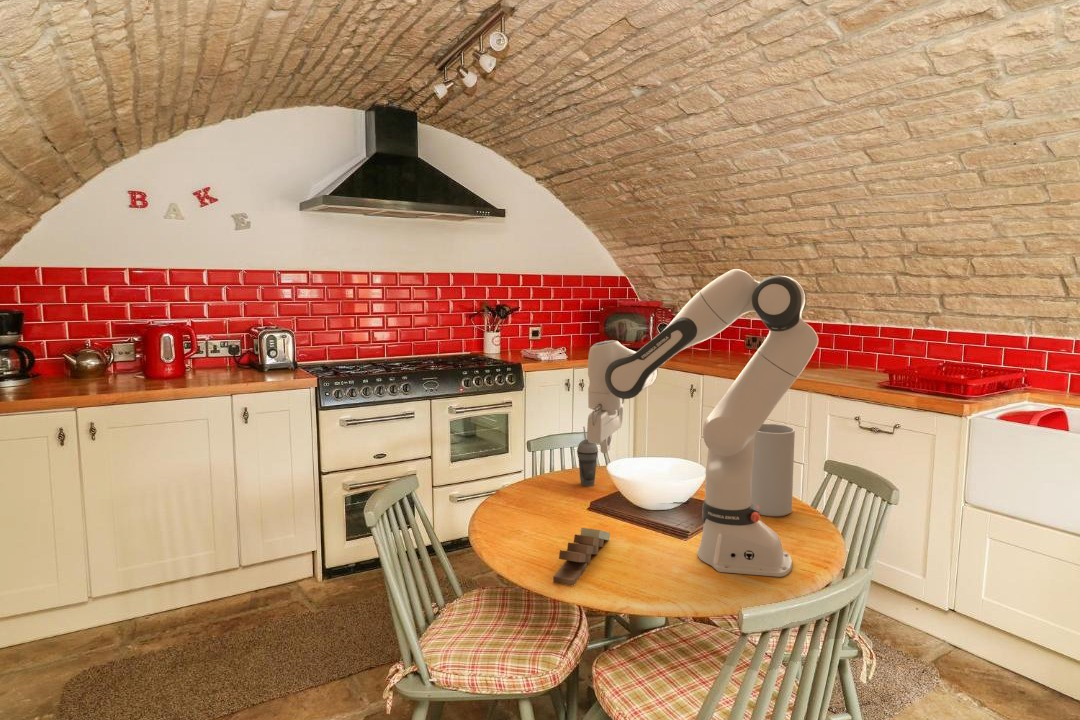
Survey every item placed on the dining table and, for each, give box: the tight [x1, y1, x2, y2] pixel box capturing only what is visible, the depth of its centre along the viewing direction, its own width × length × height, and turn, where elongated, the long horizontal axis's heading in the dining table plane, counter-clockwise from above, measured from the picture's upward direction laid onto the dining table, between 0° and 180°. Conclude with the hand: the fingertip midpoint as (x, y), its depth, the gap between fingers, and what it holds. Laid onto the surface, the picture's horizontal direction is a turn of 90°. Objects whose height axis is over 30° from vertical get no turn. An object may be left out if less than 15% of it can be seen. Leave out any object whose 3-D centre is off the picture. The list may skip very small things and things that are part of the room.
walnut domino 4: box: [566, 542, 600, 555], centre depth 166 cm, size 5×2×10 cm
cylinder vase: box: [751, 423, 796, 517], centre depth 198 cm, size 12×12×25 cm
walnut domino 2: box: [552, 560, 588, 587], centre depth 158 cm, size 5×2×10 cm
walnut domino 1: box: [558, 549, 592, 563], centre depth 161 cm, size 5×2×10 cm
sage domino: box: [580, 527, 611, 541], centre depth 175 cm, size 5×2×10 cm
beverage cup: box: [576, 426, 599, 487], centre depth 225 cm, size 7×7×20 cm
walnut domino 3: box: [573, 534, 605, 548], centre depth 171 cm, size 5×2×10 cm
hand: (605, 451), depth 179 cm, fingers closed
